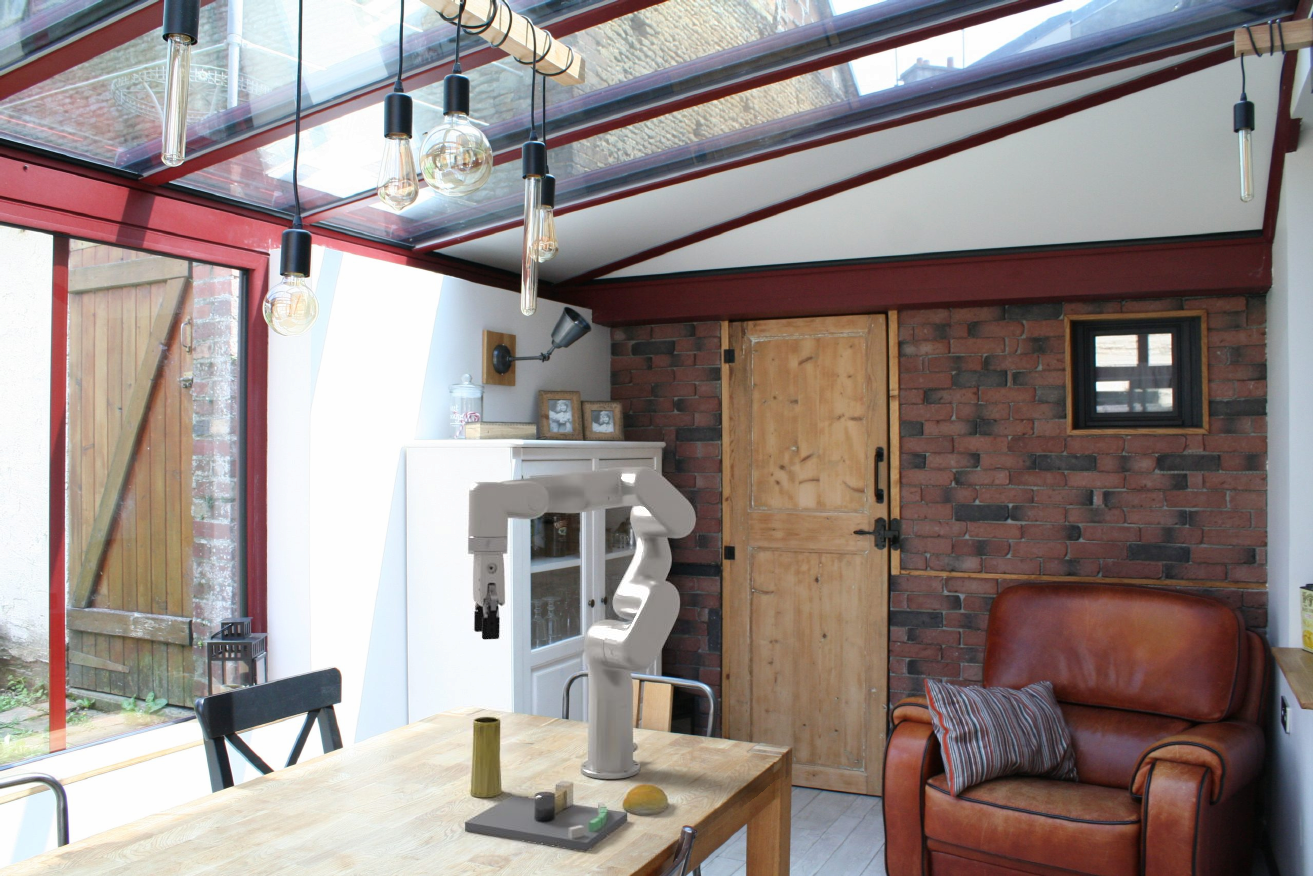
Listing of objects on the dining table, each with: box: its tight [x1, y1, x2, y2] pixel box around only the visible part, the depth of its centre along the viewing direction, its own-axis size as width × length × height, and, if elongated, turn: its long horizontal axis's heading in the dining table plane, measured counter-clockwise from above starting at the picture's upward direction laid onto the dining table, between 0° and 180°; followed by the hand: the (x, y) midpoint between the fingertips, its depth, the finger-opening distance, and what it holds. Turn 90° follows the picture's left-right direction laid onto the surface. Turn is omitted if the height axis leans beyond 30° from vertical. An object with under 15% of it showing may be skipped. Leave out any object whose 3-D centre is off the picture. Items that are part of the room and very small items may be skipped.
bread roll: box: [621, 783, 669, 816], centre depth 185 cm, size 8×9×4 cm
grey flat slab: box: [464, 795, 628, 852], centre depth 175 cm, size 16×24×3 cm, turn 67°
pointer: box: [534, 780, 574, 821], centre depth 177 cm, size 10×4×4 cm, turn 157°
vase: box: [470, 716, 503, 799], centre depth 193 cm, size 6×6×14 cm
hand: (486, 635), depth 189 cm, fingers open, 9 cm apart
